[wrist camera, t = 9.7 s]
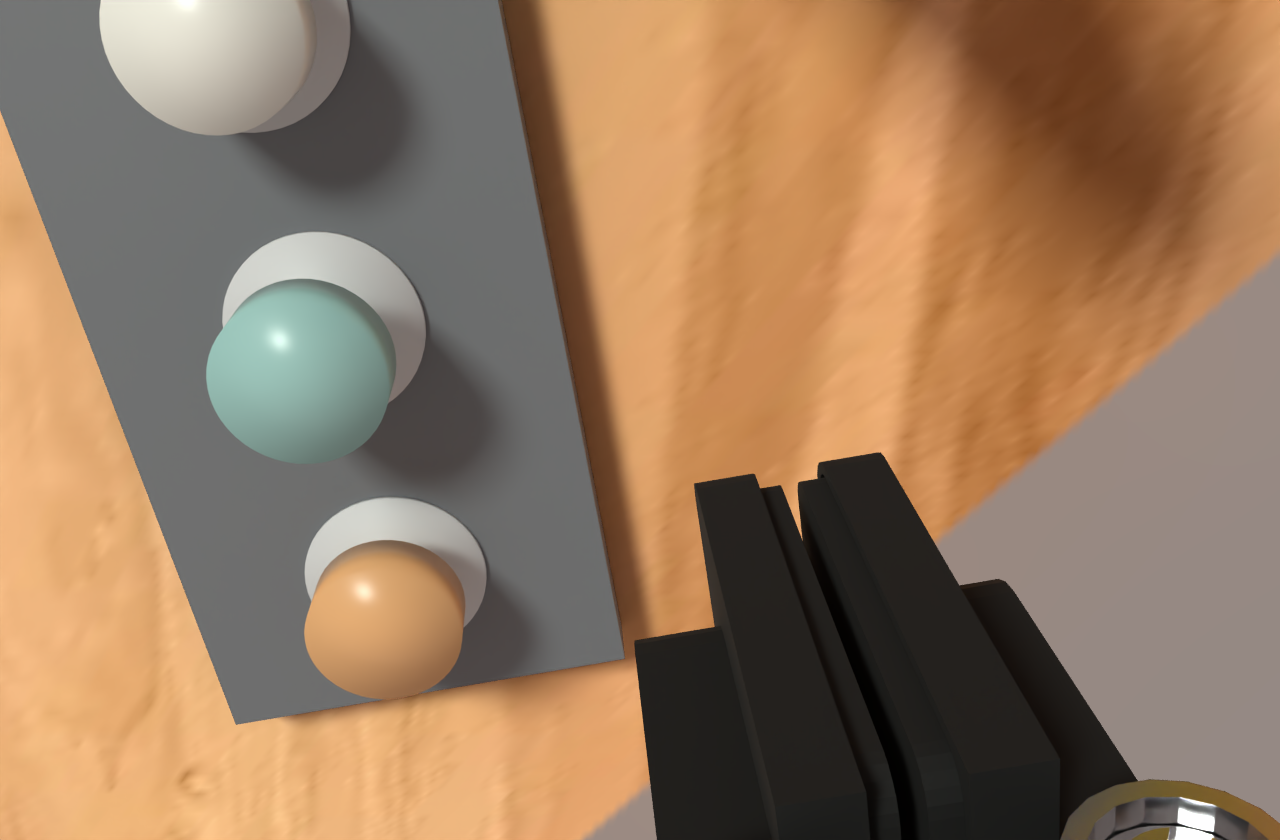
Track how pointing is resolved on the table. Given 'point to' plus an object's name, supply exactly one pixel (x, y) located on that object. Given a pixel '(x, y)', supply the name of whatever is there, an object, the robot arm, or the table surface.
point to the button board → (365, 265)
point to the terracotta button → (386, 620)
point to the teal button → (302, 371)
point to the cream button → (210, 58)
